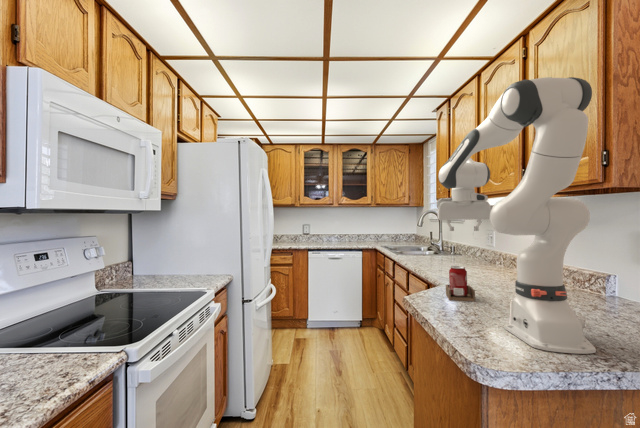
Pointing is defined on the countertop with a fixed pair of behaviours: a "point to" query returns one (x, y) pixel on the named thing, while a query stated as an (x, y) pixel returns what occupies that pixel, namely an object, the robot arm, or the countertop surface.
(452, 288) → the soda can
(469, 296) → the can rest
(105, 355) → the countertop surface
